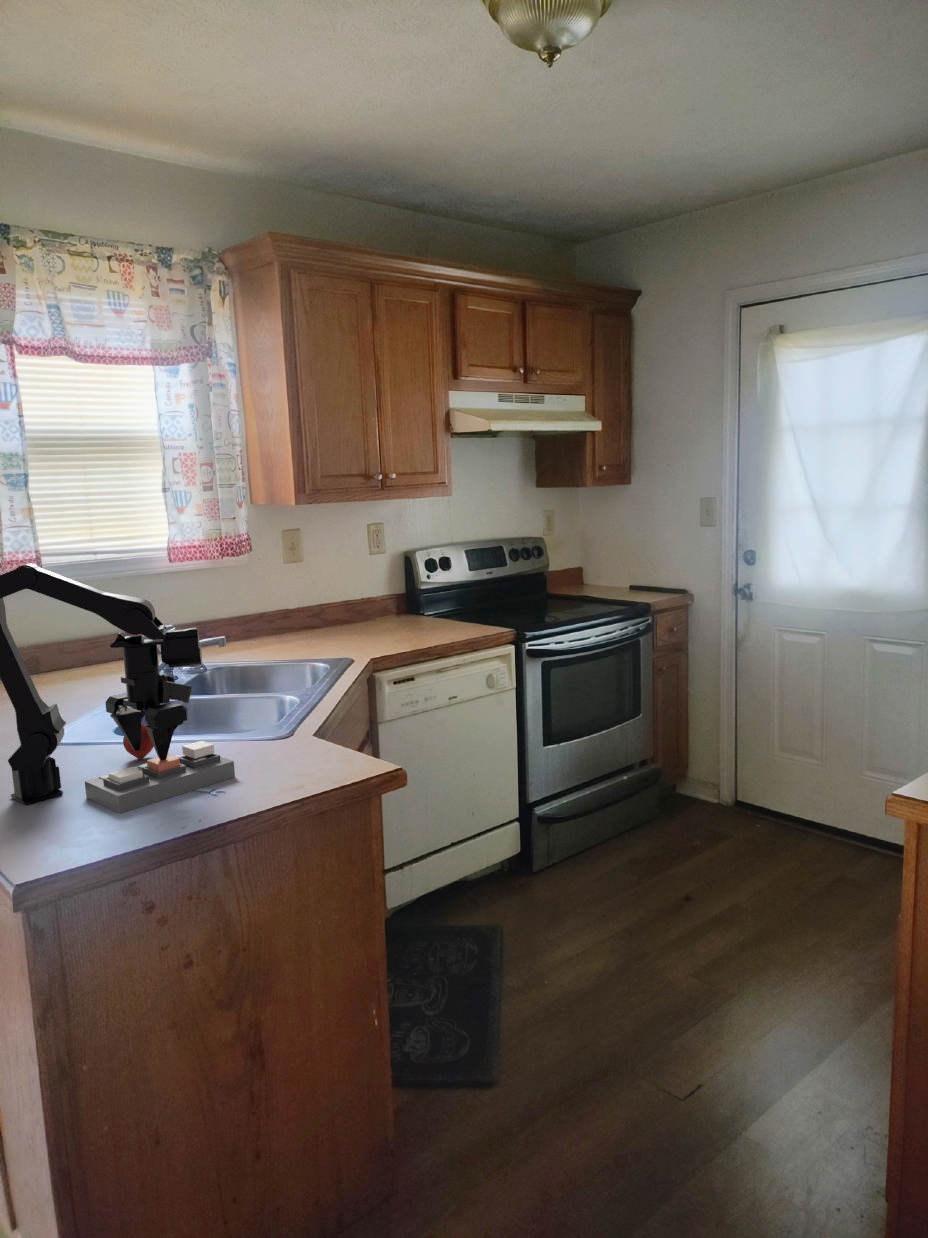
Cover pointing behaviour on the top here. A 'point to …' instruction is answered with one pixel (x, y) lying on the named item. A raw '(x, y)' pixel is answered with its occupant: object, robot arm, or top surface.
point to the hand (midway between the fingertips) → (150, 755)
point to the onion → (145, 744)
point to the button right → (198, 749)
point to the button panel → (159, 782)
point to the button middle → (163, 763)
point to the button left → (125, 775)
